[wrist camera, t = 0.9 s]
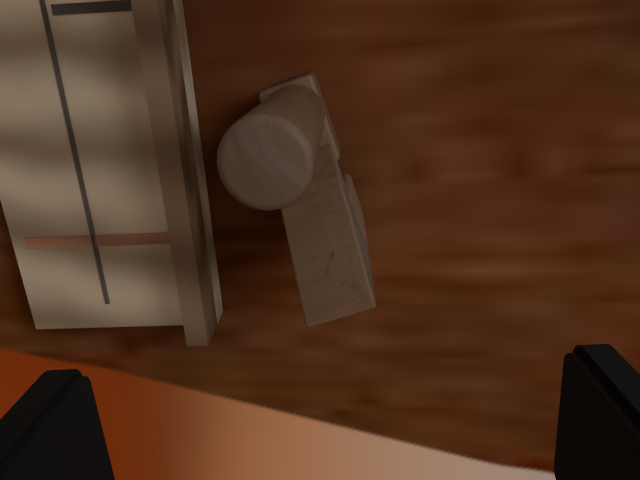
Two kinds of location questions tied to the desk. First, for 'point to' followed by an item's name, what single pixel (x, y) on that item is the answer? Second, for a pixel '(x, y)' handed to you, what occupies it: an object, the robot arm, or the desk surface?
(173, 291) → the marking board
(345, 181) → the wooden block
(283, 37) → the desk surface
